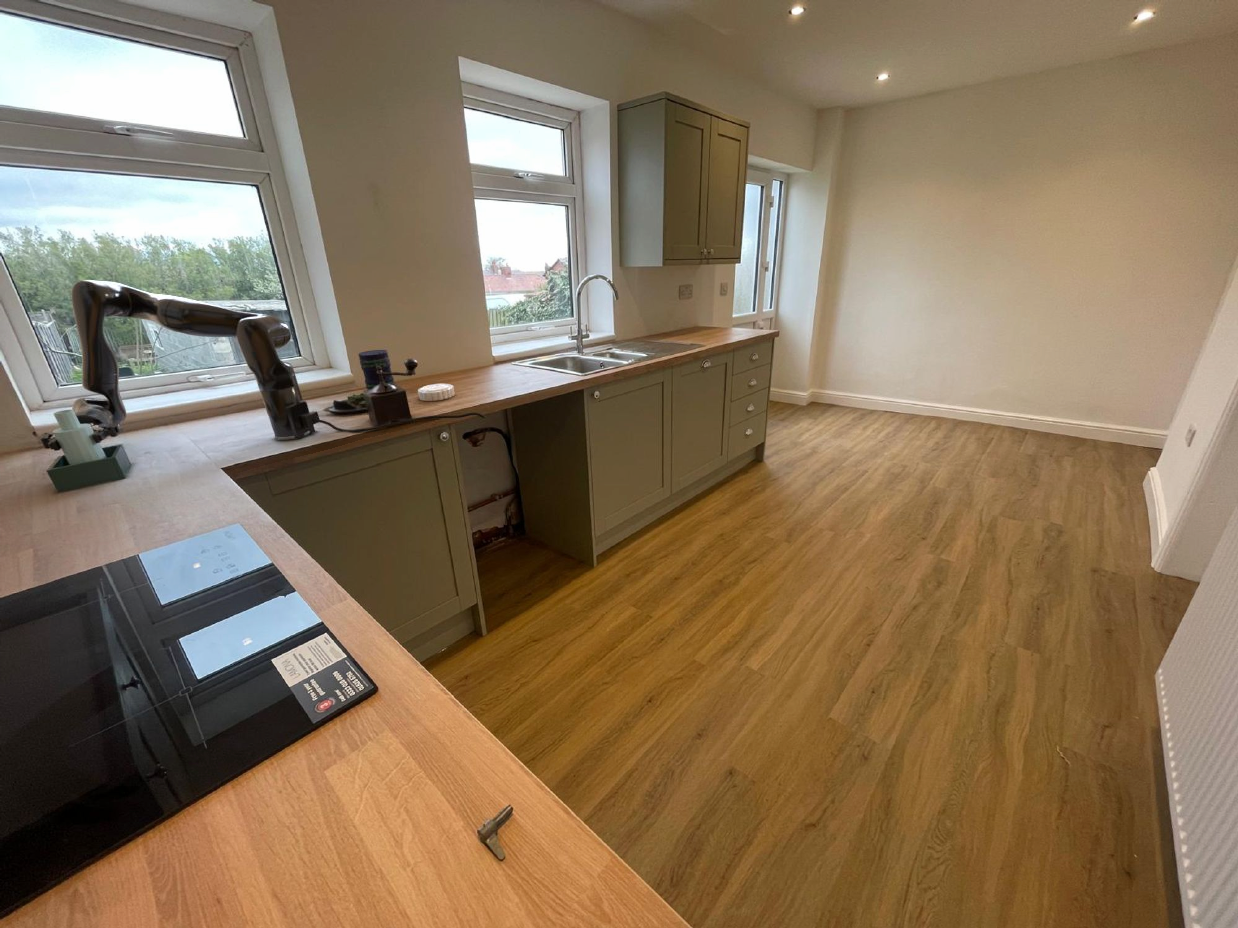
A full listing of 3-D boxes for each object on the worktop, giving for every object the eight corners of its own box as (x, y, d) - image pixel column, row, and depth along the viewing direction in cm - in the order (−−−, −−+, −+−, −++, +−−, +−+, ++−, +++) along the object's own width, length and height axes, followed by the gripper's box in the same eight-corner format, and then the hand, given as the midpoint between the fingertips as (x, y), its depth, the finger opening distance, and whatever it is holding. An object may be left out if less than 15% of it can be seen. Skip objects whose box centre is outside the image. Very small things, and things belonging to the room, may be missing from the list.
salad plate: (338, 402, 176) (334, 389, 175) (391, 396, 180) (388, 384, 178) (320, 418, 159) (316, 404, 157) (380, 412, 162) (377, 398, 160)
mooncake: (413, 398, 177) (411, 388, 176) (444, 390, 185) (442, 380, 184) (429, 403, 169) (427, 393, 168) (461, 395, 177) (459, 385, 176)
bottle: (119, 470, 123) (88, 408, 117) (89, 481, 118) (56, 416, 112) (100, 468, 125) (70, 407, 118) (70, 479, 119) (36, 415, 113)
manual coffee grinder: (377, 428, 147) (362, 367, 140) (368, 419, 155) (354, 362, 148) (430, 416, 156) (418, 358, 148) (419, 409, 164) (407, 353, 157)
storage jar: (361, 395, 183) (351, 354, 178) (382, 388, 192) (373, 349, 186) (382, 397, 180) (372, 355, 174) (402, 390, 188) (393, 350, 182)
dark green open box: (131, 464, 129) (122, 444, 127) (125, 478, 120) (115, 456, 118) (69, 476, 123) (58, 456, 121) (58, 492, 114) (46, 470, 112)
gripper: (41, 417, 123) (22, 435, 111) (119, 405, 131) (110, 420, 118) (56, 445, 126) (39, 465, 114) (132, 432, 134) (124, 449, 121)
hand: (75, 442), depth 116 cm, fingers closed on bottle, 6 cm apart
